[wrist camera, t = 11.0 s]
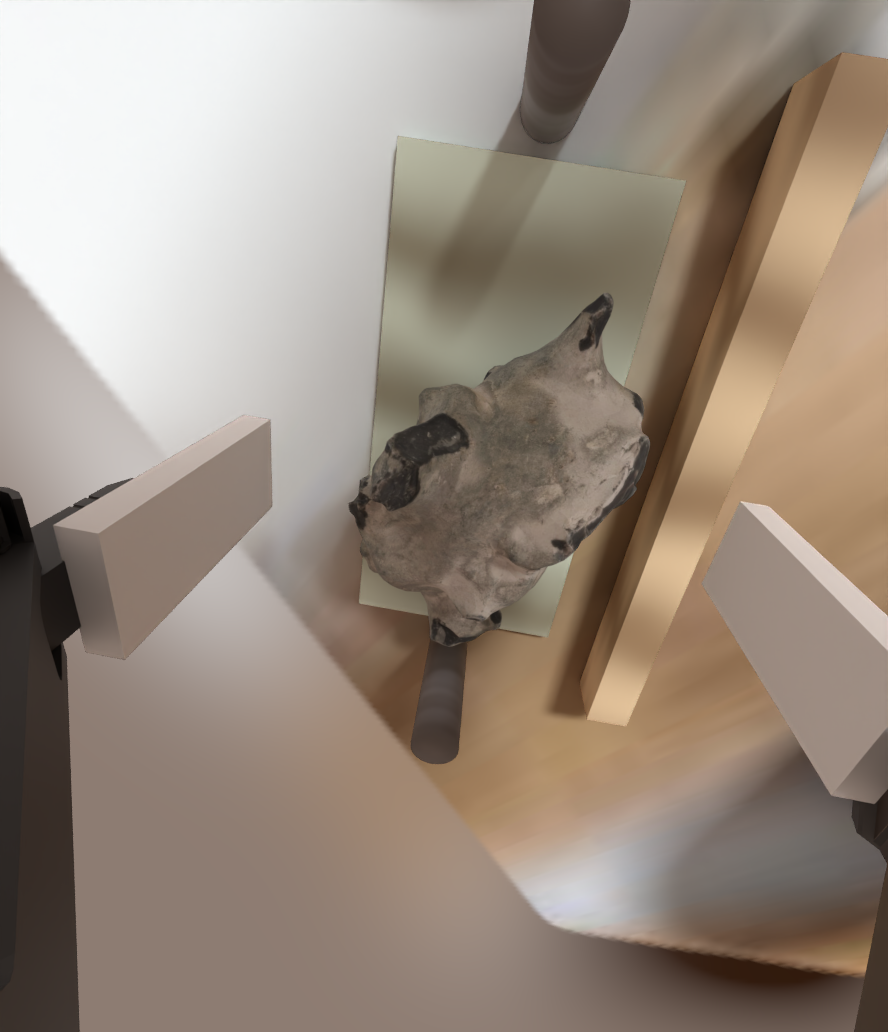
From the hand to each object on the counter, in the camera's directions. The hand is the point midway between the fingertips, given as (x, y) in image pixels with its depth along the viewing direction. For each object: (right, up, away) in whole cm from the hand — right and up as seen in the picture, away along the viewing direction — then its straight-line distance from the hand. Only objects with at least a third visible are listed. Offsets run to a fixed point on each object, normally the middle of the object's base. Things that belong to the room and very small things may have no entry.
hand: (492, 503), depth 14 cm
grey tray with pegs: (+3, +3, +8) cm, 9 cm away
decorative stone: (0, +2, +8) cm, 8 cm away
